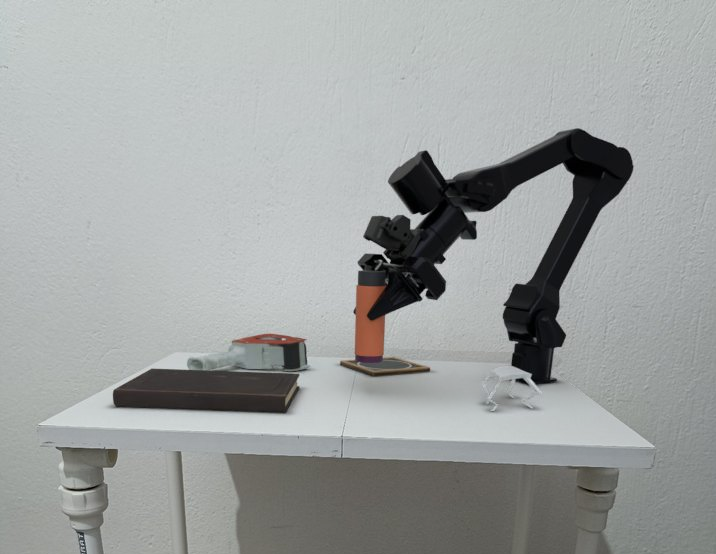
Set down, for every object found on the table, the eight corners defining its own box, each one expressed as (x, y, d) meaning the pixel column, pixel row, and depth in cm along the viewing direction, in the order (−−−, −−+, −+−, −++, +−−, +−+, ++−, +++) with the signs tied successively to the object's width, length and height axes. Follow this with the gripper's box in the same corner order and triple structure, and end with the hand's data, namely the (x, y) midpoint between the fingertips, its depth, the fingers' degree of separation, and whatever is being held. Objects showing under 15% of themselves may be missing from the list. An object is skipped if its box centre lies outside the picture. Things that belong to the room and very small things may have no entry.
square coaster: (394, 360, 129) (394, 356, 129) (430, 371, 119) (430, 367, 119) (340, 364, 123) (340, 360, 123) (373, 376, 114) (373, 371, 113)
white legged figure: (543, 414, 91) (548, 379, 90) (482, 411, 92) (486, 376, 90) (530, 395, 103) (534, 364, 101) (475, 393, 103) (478, 361, 102)
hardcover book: (152, 383, 103) (151, 368, 103) (299, 388, 103) (299, 373, 102) (113, 407, 88) (111, 390, 87) (285, 413, 88) (285, 396, 87)
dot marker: (373, 357, 103) (376, 270, 99) (388, 362, 100) (392, 272, 95) (349, 359, 101) (351, 270, 97) (363, 364, 98) (366, 272, 93)
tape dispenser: (186, 383, 111) (305, 379, 110) (181, 352, 109) (303, 347, 108) (209, 360, 127) (313, 357, 126) (205, 332, 125) (311, 328, 124)
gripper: (371, 198, 102) (303, 272, 102) (432, 192, 86) (353, 280, 86) (412, 253, 108) (349, 323, 107) (477, 257, 92) (403, 339, 92)
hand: (361, 316), depth 98 cm, fingers closed on dot marker, 4 cm apart
